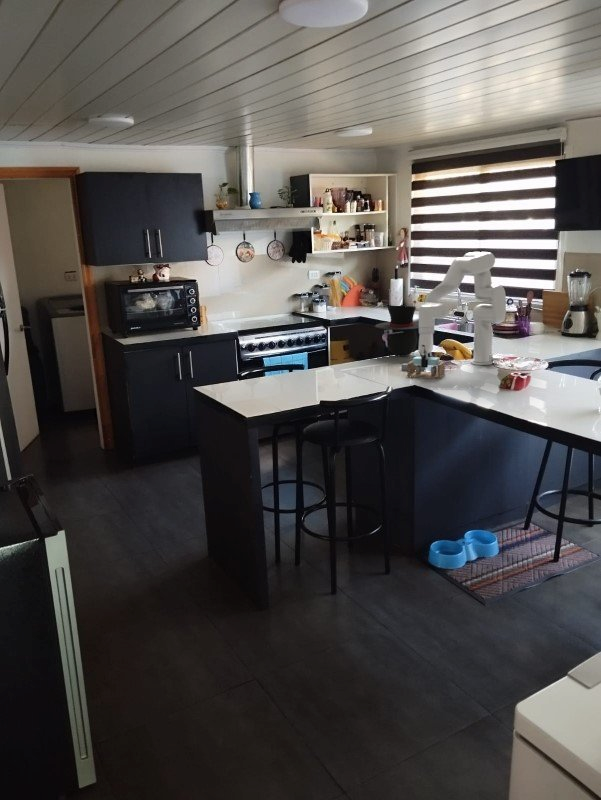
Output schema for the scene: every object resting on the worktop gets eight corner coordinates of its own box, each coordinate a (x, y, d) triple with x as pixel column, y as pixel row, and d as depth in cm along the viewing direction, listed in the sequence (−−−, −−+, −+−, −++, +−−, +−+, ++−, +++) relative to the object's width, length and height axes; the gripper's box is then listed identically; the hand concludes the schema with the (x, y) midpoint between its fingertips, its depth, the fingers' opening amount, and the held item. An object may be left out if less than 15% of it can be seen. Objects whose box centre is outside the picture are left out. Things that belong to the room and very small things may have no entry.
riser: (425, 370, 326) (425, 364, 325) (423, 371, 323) (423, 365, 323) (403, 368, 332) (403, 363, 331) (401, 370, 329) (401, 364, 328)
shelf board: (439, 363, 312) (439, 357, 311) (436, 365, 307) (436, 359, 306) (416, 362, 317) (416, 356, 316) (412, 364, 312) (412, 358, 312)
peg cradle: (445, 375, 314) (445, 361, 312) (440, 379, 306) (440, 365, 304) (412, 373, 321) (412, 359, 319) (406, 376, 314) (406, 363, 312)
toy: (376, 351, 383) (376, 302, 375) (428, 350, 377) (428, 300, 370) (374, 361, 354) (373, 308, 346) (429, 360, 348) (429, 307, 340)
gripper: (424, 327, 316) (423, 362, 321) (413, 332, 302) (413, 369, 307) (438, 327, 313) (438, 362, 318) (429, 333, 298) (428, 370, 303)
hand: (426, 365), depth 312 cm, fingers closed on shelf board, 5 cm apart
